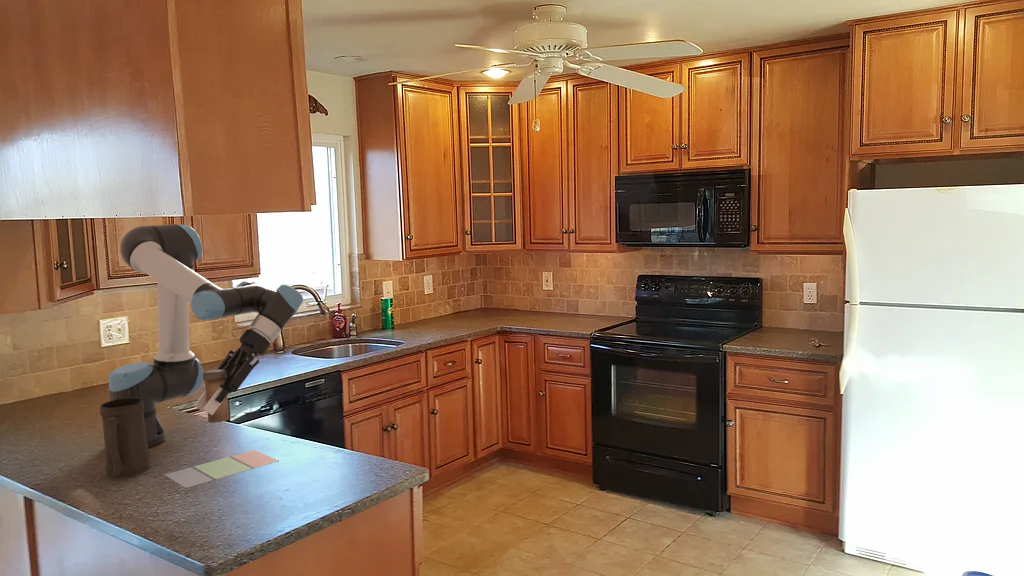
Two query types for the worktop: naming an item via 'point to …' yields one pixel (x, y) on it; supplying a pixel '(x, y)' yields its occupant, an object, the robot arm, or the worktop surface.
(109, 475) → the beer stein
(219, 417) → the wooden dark-capped post
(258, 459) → the gauge board
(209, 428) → the worktop surface
